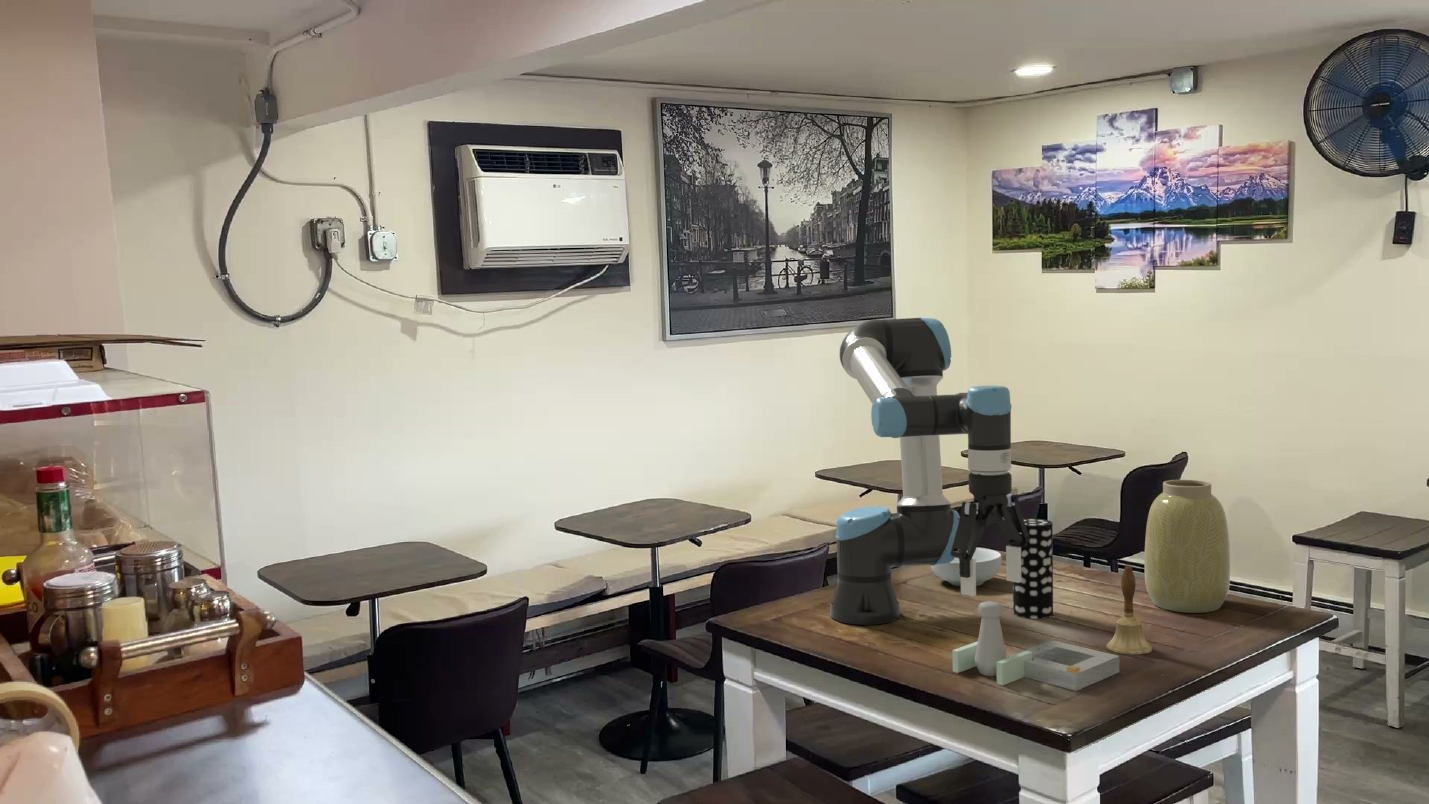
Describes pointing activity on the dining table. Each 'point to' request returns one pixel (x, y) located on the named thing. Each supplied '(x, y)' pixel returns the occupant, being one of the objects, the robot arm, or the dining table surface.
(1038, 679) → the socket
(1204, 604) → the vase
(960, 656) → the pale green rectangular blocks
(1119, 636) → the hand bell
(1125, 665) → the dining table surface
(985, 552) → the cereal bowl
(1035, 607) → the white-spotted black cylinder
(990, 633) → the salt shaker
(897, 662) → the dining table surface
